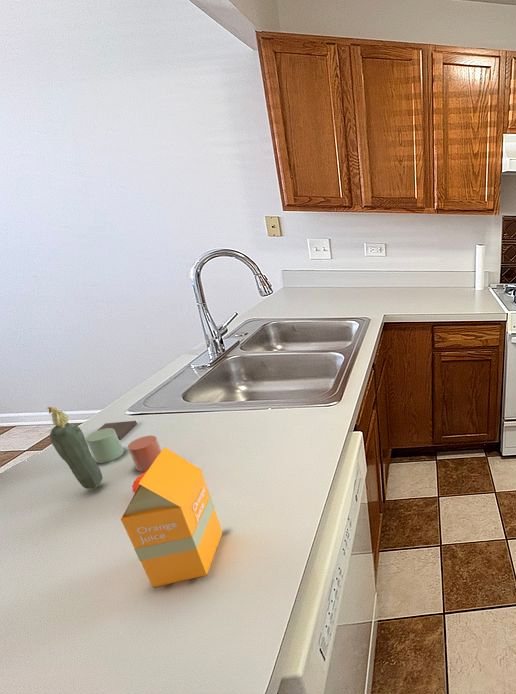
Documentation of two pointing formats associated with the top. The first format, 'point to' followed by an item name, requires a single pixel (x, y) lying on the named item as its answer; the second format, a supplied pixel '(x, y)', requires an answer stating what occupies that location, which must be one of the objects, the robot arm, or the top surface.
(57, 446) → the vegetable
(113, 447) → the mint green cylinder
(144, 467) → the rust red cylinder
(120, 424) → the coaster
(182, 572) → the orange juice
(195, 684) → the top surface
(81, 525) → the top surface
